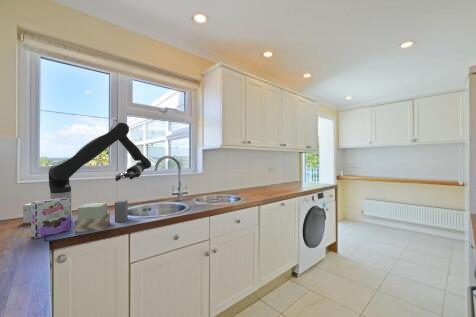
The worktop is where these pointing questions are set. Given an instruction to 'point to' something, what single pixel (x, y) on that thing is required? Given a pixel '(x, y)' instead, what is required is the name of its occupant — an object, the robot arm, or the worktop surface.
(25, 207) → the small box
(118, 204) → the grey block
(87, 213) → the sage block
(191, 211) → the worktop surface
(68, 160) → the robot arm
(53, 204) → the candy box
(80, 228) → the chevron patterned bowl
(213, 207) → the worktop surface
